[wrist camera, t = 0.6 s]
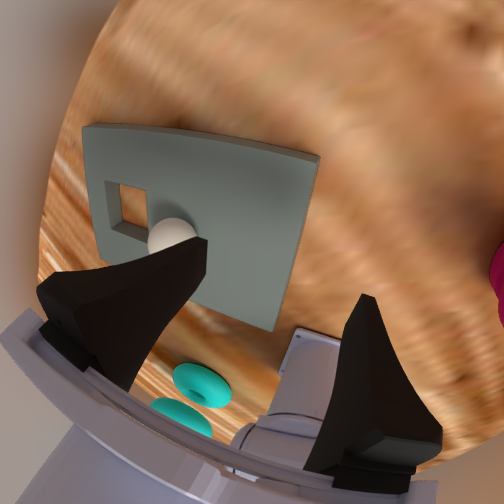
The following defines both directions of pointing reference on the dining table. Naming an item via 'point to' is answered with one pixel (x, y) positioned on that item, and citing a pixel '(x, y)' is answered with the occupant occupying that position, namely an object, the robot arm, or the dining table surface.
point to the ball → (169, 234)
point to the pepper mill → (498, 279)
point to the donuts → (194, 396)
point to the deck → (206, 207)
